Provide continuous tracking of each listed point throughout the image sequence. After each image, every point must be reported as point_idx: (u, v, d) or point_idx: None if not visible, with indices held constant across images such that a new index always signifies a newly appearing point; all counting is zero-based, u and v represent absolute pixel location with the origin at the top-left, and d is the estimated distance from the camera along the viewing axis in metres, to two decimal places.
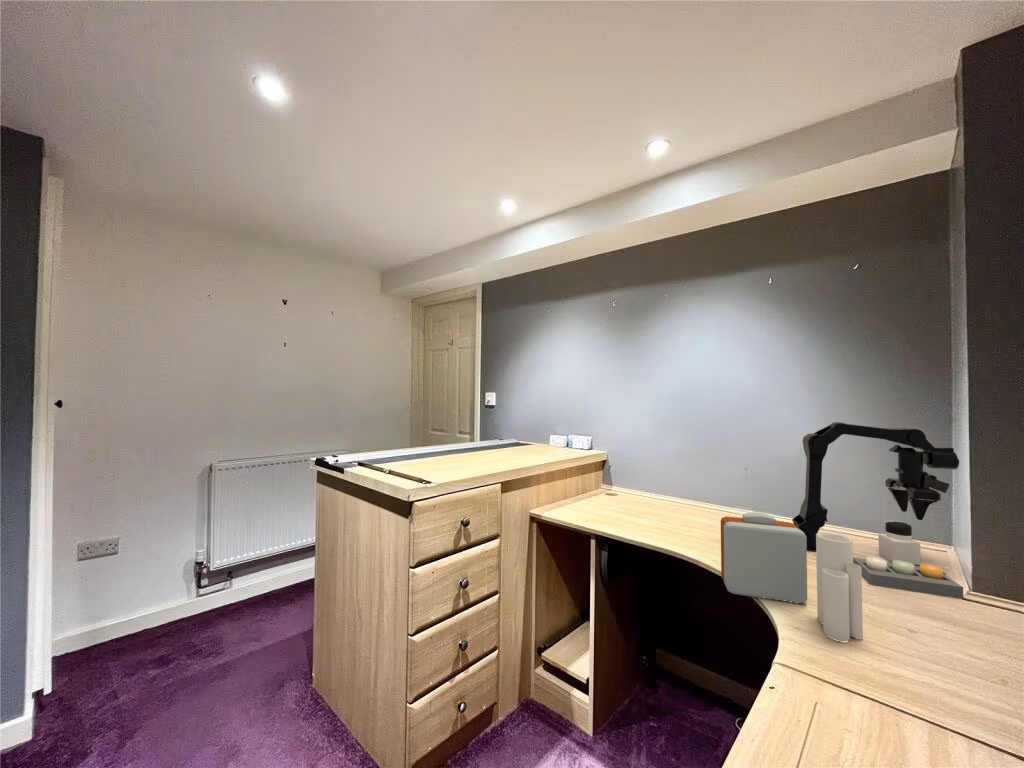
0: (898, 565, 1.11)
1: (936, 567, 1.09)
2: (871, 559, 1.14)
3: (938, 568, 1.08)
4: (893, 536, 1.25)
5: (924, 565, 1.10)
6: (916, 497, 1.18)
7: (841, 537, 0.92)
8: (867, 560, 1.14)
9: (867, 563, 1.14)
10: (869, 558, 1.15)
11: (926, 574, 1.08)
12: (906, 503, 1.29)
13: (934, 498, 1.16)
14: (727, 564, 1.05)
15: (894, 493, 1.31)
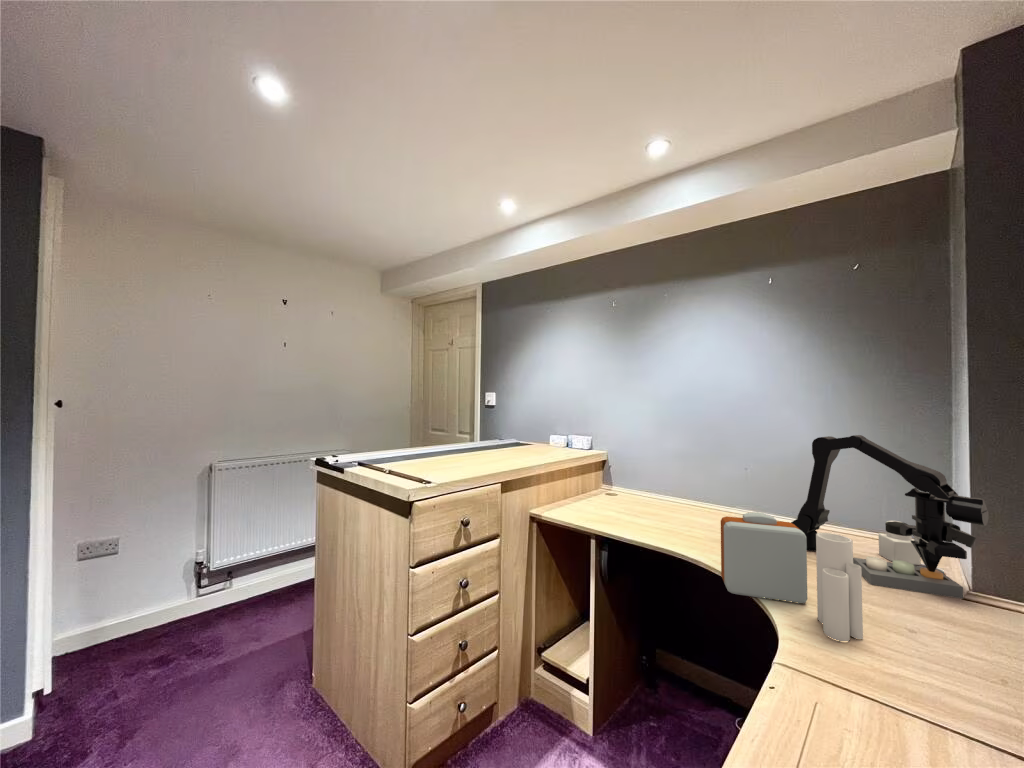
0: (898, 565, 1.11)
1: (936, 571, 1.09)
2: (871, 559, 1.14)
3: (938, 572, 1.08)
4: (893, 536, 1.25)
5: (924, 569, 1.10)
6: (938, 554, 1.02)
7: (841, 537, 0.92)
8: (867, 560, 1.14)
9: (867, 563, 1.14)
10: (869, 558, 1.15)
11: None
12: None
13: (959, 556, 1.00)
14: (727, 564, 1.05)
15: (919, 548, 1.11)
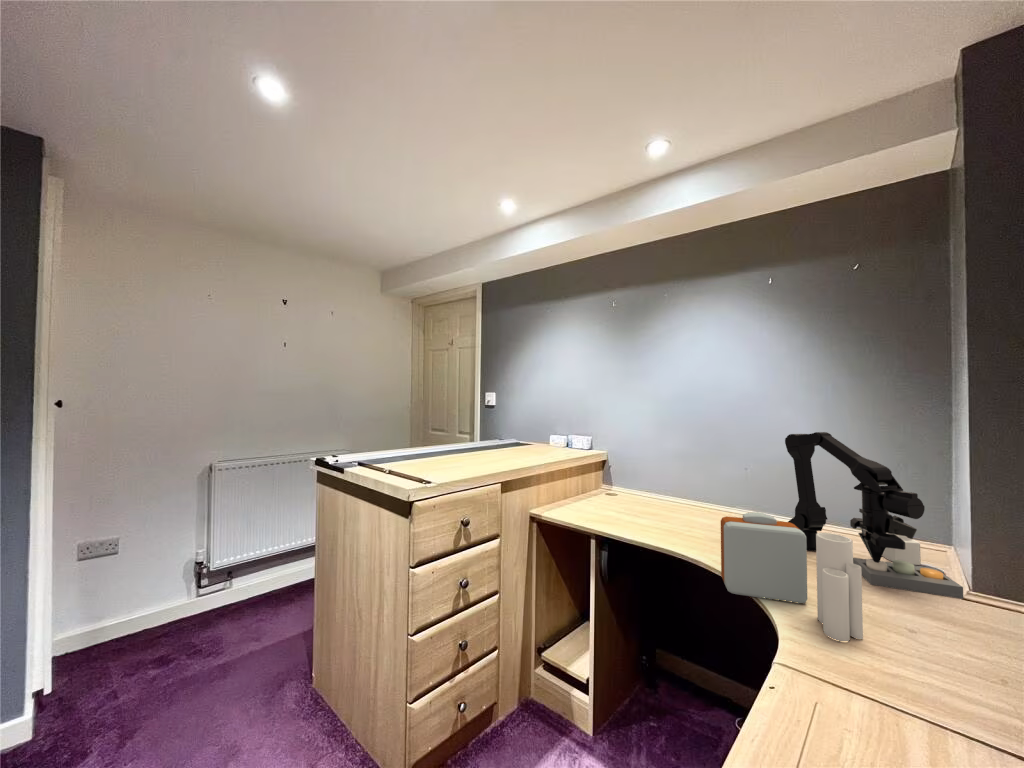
0: (898, 565, 1.11)
1: (936, 571, 1.09)
2: (871, 561, 1.14)
3: (938, 572, 1.08)
4: None
5: (924, 569, 1.10)
6: (879, 545, 1.07)
7: (841, 537, 0.92)
8: (867, 562, 1.14)
9: (867, 565, 1.14)
10: (869, 560, 1.15)
11: None
12: None
13: (898, 547, 1.05)
14: (727, 564, 1.05)
15: (865, 540, 1.15)
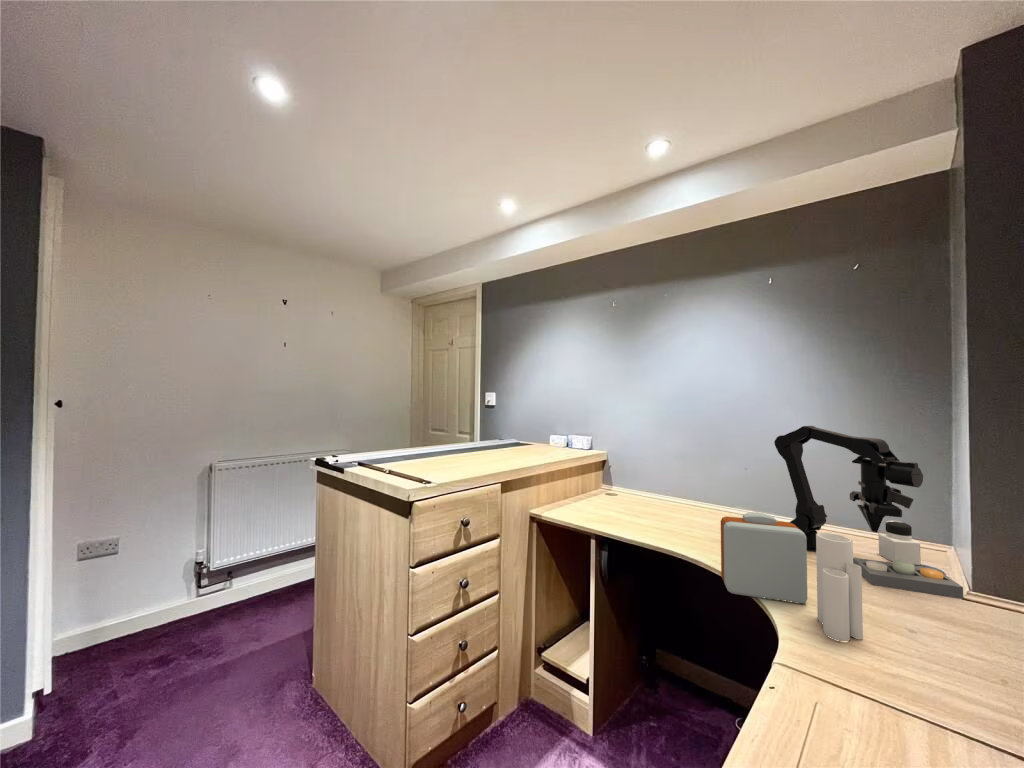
0: (898, 565, 1.11)
1: (936, 571, 1.09)
2: (871, 563, 1.14)
3: (938, 572, 1.08)
4: (893, 536, 1.25)
5: (924, 569, 1.10)
6: (876, 513, 1.11)
7: (841, 537, 0.92)
8: (867, 564, 1.14)
9: (867, 567, 1.14)
10: (869, 562, 1.15)
11: None
12: None
13: (895, 514, 1.09)
14: (727, 564, 1.05)
15: (863, 511, 1.19)
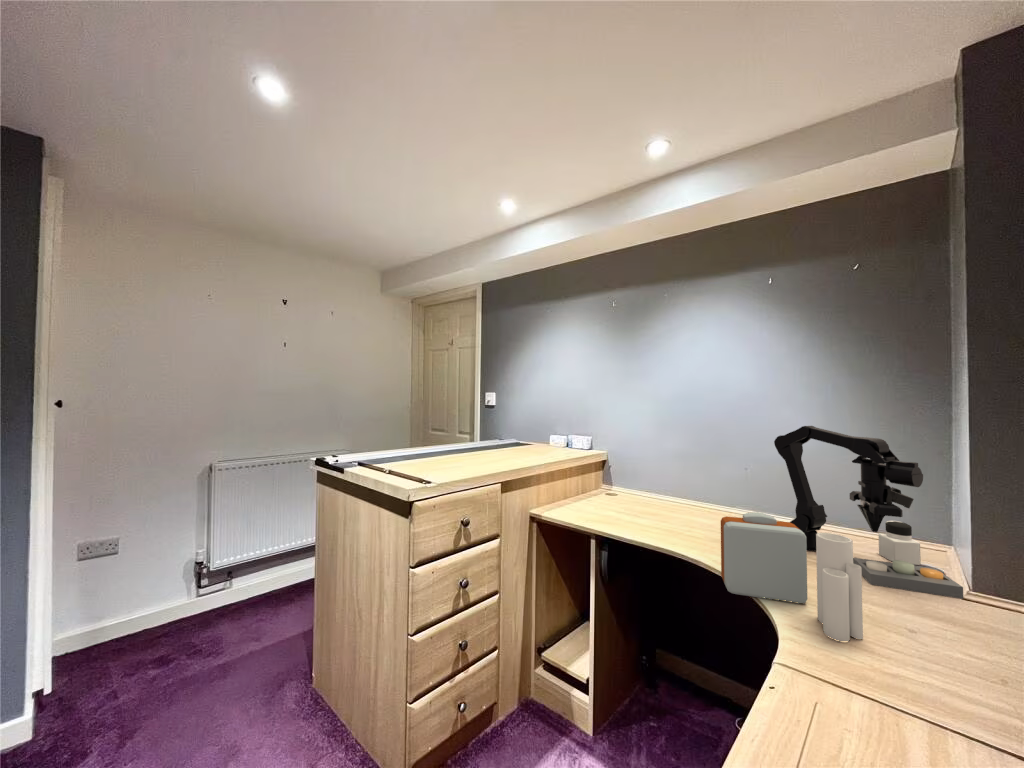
0: (898, 565, 1.11)
1: (936, 571, 1.09)
2: (871, 563, 1.14)
3: (938, 572, 1.08)
4: (893, 536, 1.25)
5: (924, 569, 1.10)
6: (877, 513, 1.11)
7: (841, 537, 0.92)
8: (867, 564, 1.14)
9: (867, 567, 1.14)
10: (869, 562, 1.15)
11: None
12: None
13: (895, 514, 1.09)
14: (727, 564, 1.05)
15: (864, 511, 1.20)
